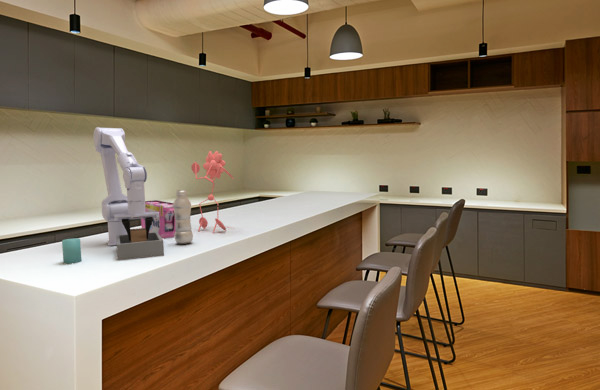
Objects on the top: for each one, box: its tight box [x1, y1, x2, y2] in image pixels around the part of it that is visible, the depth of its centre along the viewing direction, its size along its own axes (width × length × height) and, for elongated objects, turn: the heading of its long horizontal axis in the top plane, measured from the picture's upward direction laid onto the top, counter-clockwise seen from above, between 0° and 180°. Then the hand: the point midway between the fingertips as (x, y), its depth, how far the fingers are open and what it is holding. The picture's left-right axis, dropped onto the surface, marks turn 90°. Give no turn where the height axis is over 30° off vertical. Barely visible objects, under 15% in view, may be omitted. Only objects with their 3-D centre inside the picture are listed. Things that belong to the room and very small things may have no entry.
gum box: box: [140, 199, 176, 239], centre depth 175 cm, size 24×8×14 cm, turn 39°
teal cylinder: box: [61, 237, 83, 265], centre depth 130 cm, size 5×5×7 cm
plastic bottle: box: [172, 189, 194, 245], centre depth 154 cm, size 6×7×20 cm
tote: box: [116, 232, 165, 261], centre depth 142 cm, size 18×14×5 cm
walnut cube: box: [130, 227, 147, 243], centre depth 145 cm, size 5×5×5 cm
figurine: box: [190, 150, 235, 235], centre depth 182 cm, size 15×26×35 cm, turn 55°
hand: (138, 239), depth 145 cm, fingers closed on walnut cube, 5 cm apart
